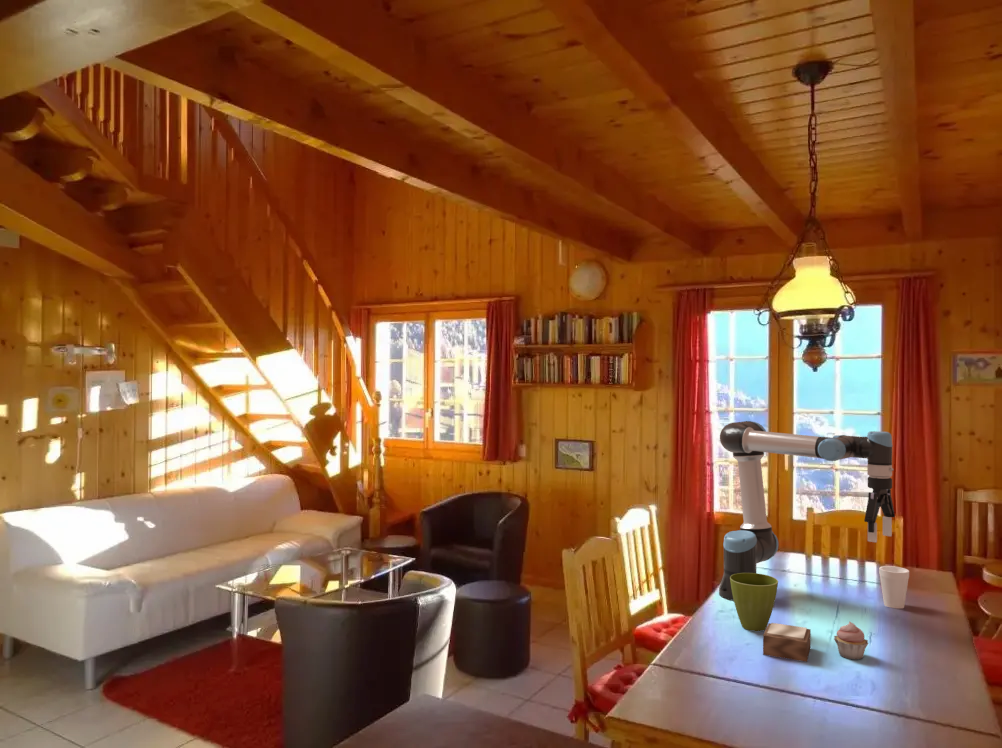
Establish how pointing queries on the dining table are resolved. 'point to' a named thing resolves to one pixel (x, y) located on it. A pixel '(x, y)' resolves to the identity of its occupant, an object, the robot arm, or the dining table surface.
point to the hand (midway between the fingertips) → (879, 538)
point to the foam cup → (894, 585)
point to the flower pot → (754, 599)
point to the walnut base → (787, 641)
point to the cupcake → (851, 641)
